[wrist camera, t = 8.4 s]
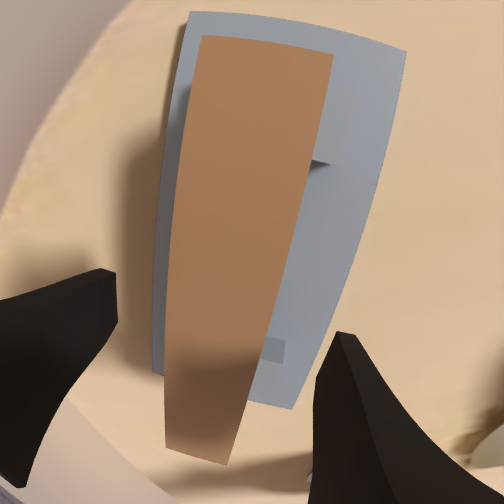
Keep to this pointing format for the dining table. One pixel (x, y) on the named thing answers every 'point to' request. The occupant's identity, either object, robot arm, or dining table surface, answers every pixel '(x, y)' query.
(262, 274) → the brown bar
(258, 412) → the dining table surface
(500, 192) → the dining table surface
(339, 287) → the display stand
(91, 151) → the dining table surface
